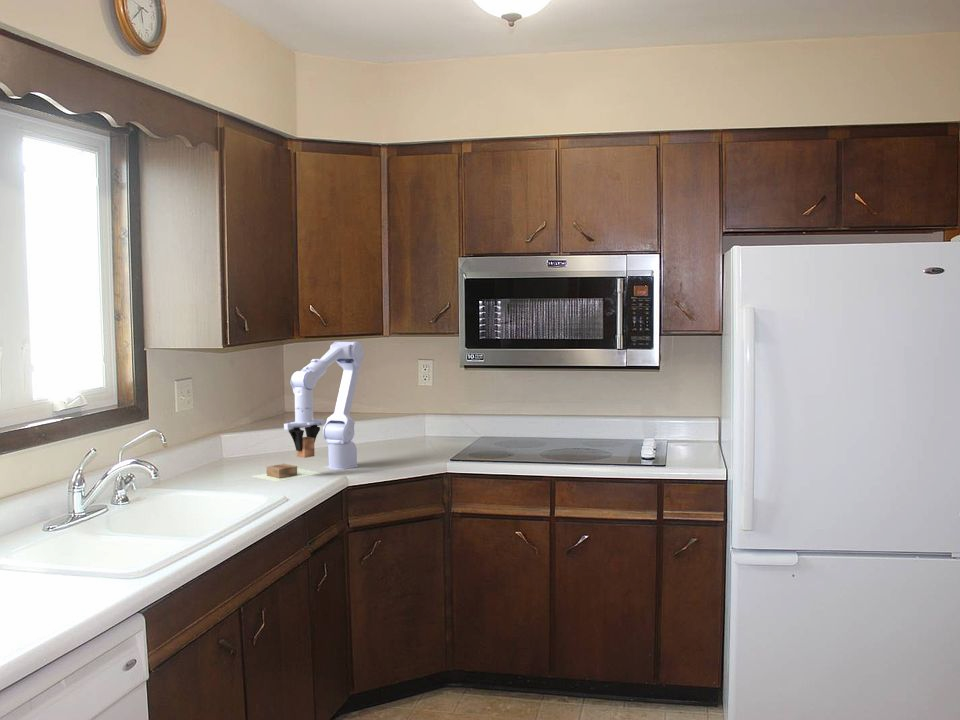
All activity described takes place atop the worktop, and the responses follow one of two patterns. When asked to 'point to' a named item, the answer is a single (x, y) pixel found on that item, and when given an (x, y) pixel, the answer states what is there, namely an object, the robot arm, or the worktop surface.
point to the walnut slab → (281, 471)
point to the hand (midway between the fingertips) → (304, 449)
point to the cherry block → (306, 448)
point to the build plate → (299, 474)
